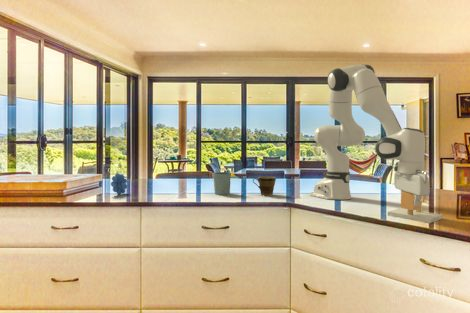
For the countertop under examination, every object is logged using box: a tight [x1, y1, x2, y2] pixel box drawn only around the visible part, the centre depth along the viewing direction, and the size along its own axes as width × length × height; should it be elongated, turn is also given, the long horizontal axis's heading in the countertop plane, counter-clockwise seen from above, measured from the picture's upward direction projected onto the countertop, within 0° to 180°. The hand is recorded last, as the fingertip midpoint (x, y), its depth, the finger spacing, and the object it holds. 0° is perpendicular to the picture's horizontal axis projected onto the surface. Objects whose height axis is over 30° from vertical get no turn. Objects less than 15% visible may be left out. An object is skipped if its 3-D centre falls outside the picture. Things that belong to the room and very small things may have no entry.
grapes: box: [110, 172, 128, 196], centre depth 174 cm, size 12×7×12 cm, turn 157°
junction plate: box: [387, 200, 443, 224], centre depth 129 cm, size 16×12×6 cm
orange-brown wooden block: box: [400, 192, 420, 210], centre depth 126 cm, size 5×5×6 cm
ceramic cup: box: [252, 175, 277, 197], centre depth 178 cm, size 13×10×10 cm
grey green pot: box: [212, 171, 232, 196], centre depth 180 cm, size 10×10×12 cm
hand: (410, 203), depth 126 cm, fingers closed on orange-brown wooden block, 7 cm apart
